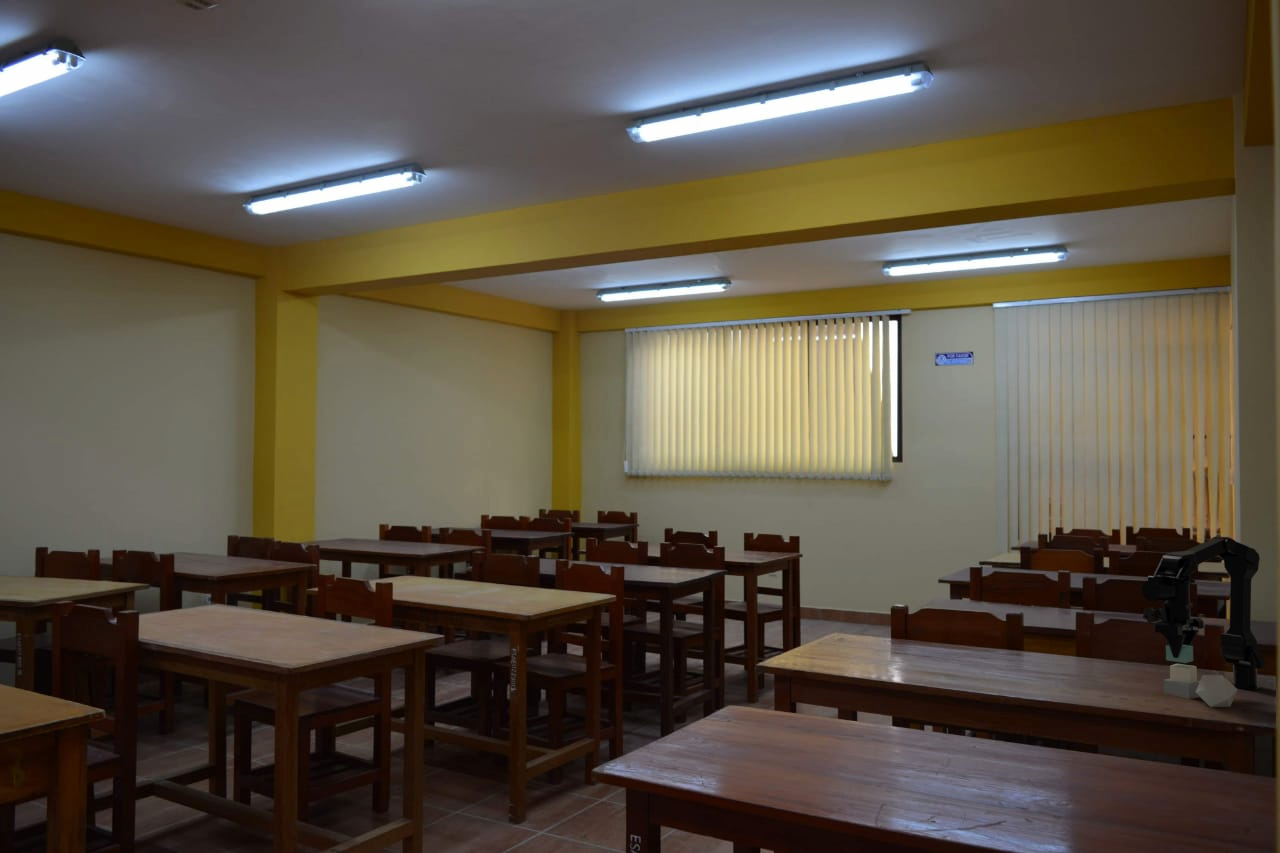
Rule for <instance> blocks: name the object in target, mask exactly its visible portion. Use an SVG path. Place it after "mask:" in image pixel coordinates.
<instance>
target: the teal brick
mask: <svg viewBox="0 0 1280 853" xmlns="http://www.w3.org/2000/svg"><path fill="white" fill-rule="evenodd" d="M1165 660H1166V661H1170V662H1178V663H1182V664H1183V663H1184V664H1187V663H1189V662H1190V663H1191V662H1193V661H1194V646H1193V645H1191V646H1189V645H1182V648H1181V651H1180V654H1179V657H1178V658H1174V657H1173V655H1172V652H1171V649H1170V646H1169V644H1167V645H1165Z"/></svg>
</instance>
